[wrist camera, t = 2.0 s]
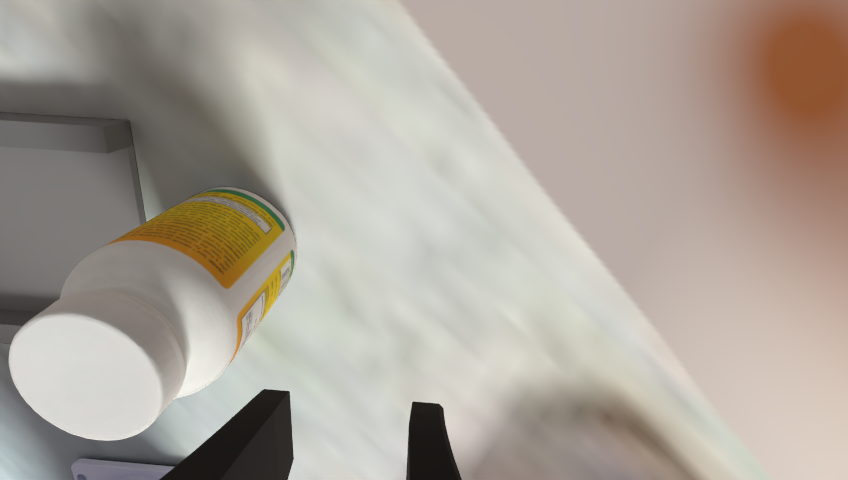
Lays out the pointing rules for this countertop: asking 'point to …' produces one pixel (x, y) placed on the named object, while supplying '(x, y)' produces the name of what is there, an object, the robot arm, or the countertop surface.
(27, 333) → the supplement bottle
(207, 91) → the countertop surface
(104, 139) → the stand
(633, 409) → the countertop surface
